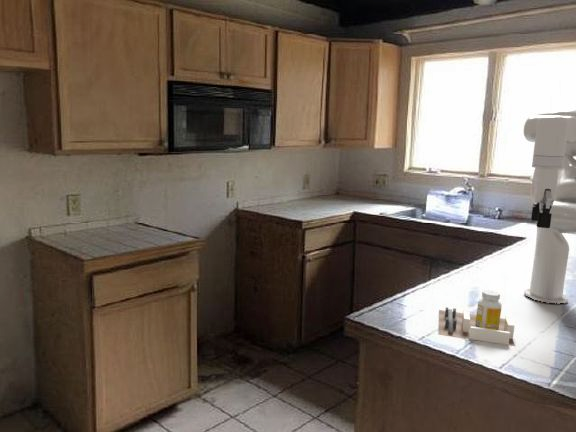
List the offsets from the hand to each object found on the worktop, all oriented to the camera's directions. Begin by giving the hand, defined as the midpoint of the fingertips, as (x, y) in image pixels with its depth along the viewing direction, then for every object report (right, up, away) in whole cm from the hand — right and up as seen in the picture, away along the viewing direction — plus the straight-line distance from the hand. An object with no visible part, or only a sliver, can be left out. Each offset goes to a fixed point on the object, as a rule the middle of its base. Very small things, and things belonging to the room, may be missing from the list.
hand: (540, 224), depth 139 cm
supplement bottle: (-18, -28, -8) cm, 34 cm away
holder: (-19, -28, -11) cm, 36 cm away
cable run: (-26, -27, -4) cm, 38 cm away
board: (-21, -28, -6) cm, 35 cm away
